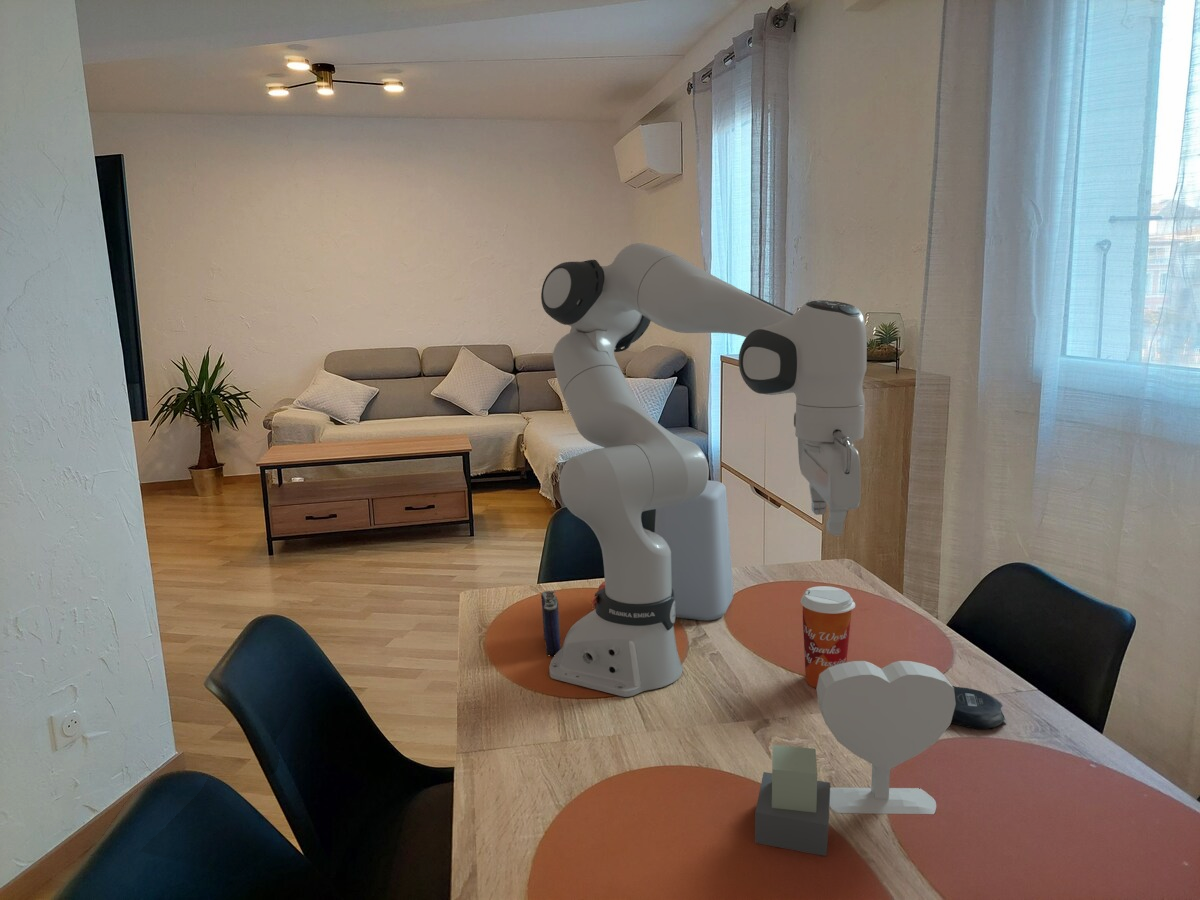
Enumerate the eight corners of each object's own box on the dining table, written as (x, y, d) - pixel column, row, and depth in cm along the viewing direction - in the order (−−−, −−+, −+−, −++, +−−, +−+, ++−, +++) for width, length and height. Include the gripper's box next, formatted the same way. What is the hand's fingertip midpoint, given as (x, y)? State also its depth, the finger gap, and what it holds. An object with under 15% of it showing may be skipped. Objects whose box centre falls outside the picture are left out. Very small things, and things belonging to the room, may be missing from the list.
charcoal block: (754, 842, 92) (755, 812, 91) (763, 800, 99) (763, 771, 98) (826, 856, 89) (827, 825, 88) (829, 811, 97) (830, 782, 96)
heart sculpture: (936, 788, 100) (944, 657, 97) (950, 814, 96) (960, 677, 92) (812, 787, 101) (815, 658, 98) (820, 812, 96) (824, 677, 93)
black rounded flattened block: (898, 733, 116) (1011, 733, 111) (894, 696, 116) (1007, 695, 111) (895, 709, 125) (999, 708, 120) (891, 674, 124) (996, 672, 120)
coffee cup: (795, 689, 126) (796, 601, 123) (802, 666, 133) (804, 582, 130) (849, 698, 123) (853, 607, 120) (854, 673, 130) (857, 588, 127)
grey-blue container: (737, 596, 164) (737, 464, 158) (721, 625, 150) (721, 482, 144) (666, 588, 169) (664, 461, 163) (645, 616, 155) (642, 478, 150)
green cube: (771, 807, 92) (772, 769, 91) (772, 781, 96) (772, 744, 95) (816, 812, 90) (817, 773, 89) (814, 786, 95) (815, 748, 94)
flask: (542, 635, 148) (540, 581, 146) (558, 634, 148) (556, 580, 146) (546, 658, 139) (543, 601, 137) (562, 656, 140) (560, 599, 137)
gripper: (876, 438, 95) (871, 547, 98) (835, 411, 115) (832, 502, 118) (823, 439, 96) (820, 548, 98) (791, 412, 116) (789, 503, 118)
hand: (826, 523), depth 108 cm, fingers open, 8 cm apart
